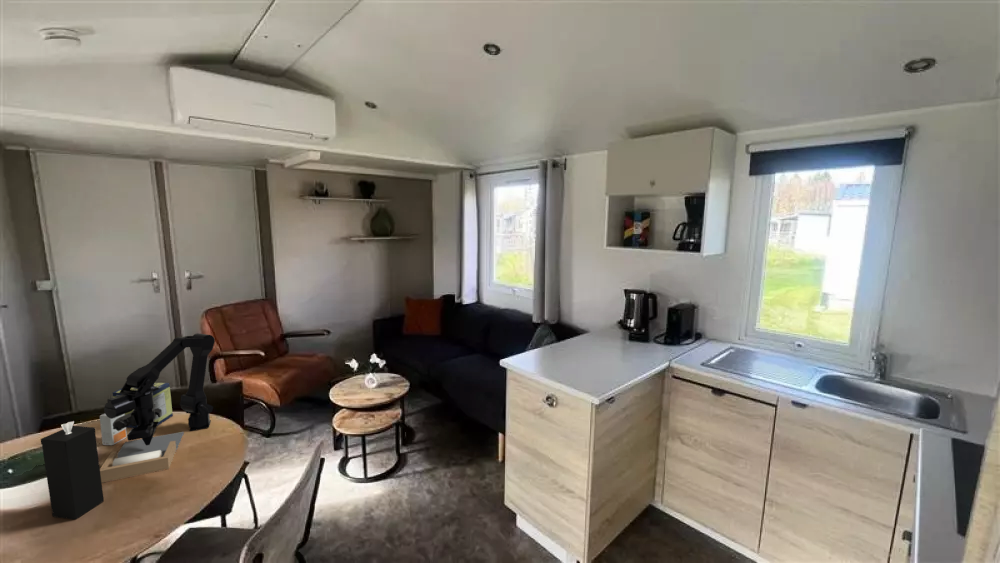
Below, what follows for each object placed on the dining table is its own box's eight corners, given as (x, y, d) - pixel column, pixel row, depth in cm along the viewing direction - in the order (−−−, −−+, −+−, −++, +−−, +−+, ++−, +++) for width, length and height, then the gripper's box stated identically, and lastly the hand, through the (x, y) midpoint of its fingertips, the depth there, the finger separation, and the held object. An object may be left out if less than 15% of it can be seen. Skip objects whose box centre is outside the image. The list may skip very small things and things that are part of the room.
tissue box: (104, 501, 125) (93, 417, 121) (75, 520, 117) (63, 430, 113) (81, 499, 126) (70, 415, 122) (51, 517, 118) (38, 428, 114)
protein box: (136, 415, 177) (132, 382, 175) (173, 416, 178) (170, 382, 176) (115, 428, 167) (111, 392, 164) (155, 428, 168) (151, 392, 165)
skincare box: (113, 445, 154) (109, 416, 153) (102, 445, 155) (98, 415, 153) (128, 437, 160) (124, 408, 159) (117, 436, 161) (114, 408, 159)
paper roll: (162, 457, 146) (160, 446, 145) (159, 468, 143) (157, 457, 141) (118, 466, 141) (115, 455, 139) (113, 477, 137) (110, 466, 135)
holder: (183, 433, 164) (182, 423, 164) (168, 468, 142) (167, 457, 141) (125, 443, 156) (124, 433, 155) (99, 483, 133) (98, 471, 133)
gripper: (122, 399, 152) (127, 437, 155) (104, 422, 136) (110, 464, 139) (160, 393, 158) (164, 430, 160) (147, 415, 142) (152, 455, 144)
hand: (148, 444), depth 151 cm, fingers closed
